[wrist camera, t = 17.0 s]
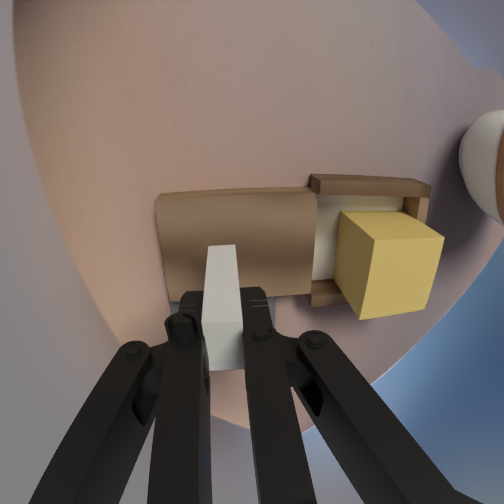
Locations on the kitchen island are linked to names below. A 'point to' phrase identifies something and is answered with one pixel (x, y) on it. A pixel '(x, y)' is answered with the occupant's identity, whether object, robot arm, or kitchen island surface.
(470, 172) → the lidded jar
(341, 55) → the kitchen island surface
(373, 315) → the block
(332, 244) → the brown tray
